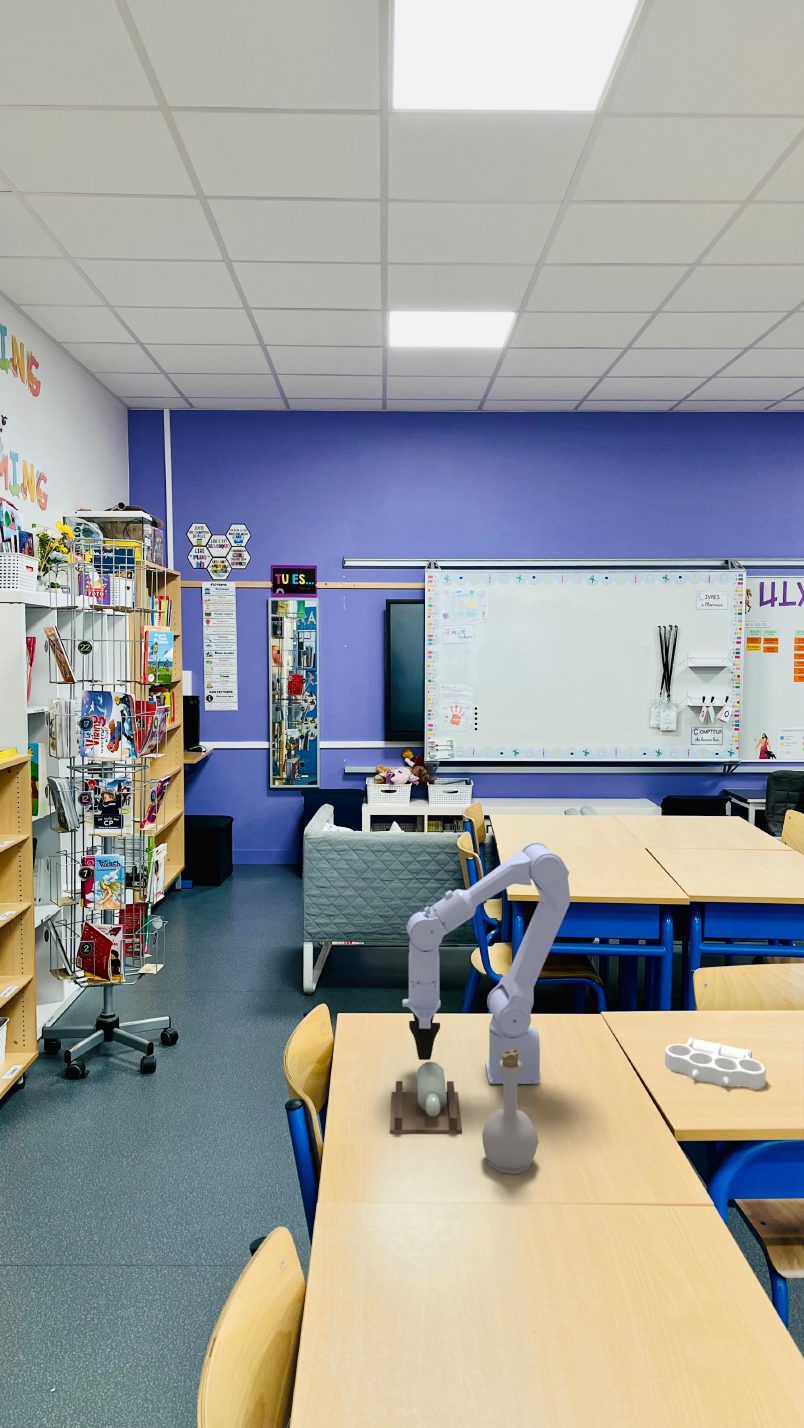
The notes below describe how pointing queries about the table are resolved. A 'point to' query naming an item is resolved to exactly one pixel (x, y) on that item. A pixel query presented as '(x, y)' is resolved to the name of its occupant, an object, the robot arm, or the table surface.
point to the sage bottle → (431, 1088)
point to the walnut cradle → (423, 1113)
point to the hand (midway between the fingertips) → (424, 1049)
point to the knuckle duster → (715, 1063)
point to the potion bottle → (509, 1125)
